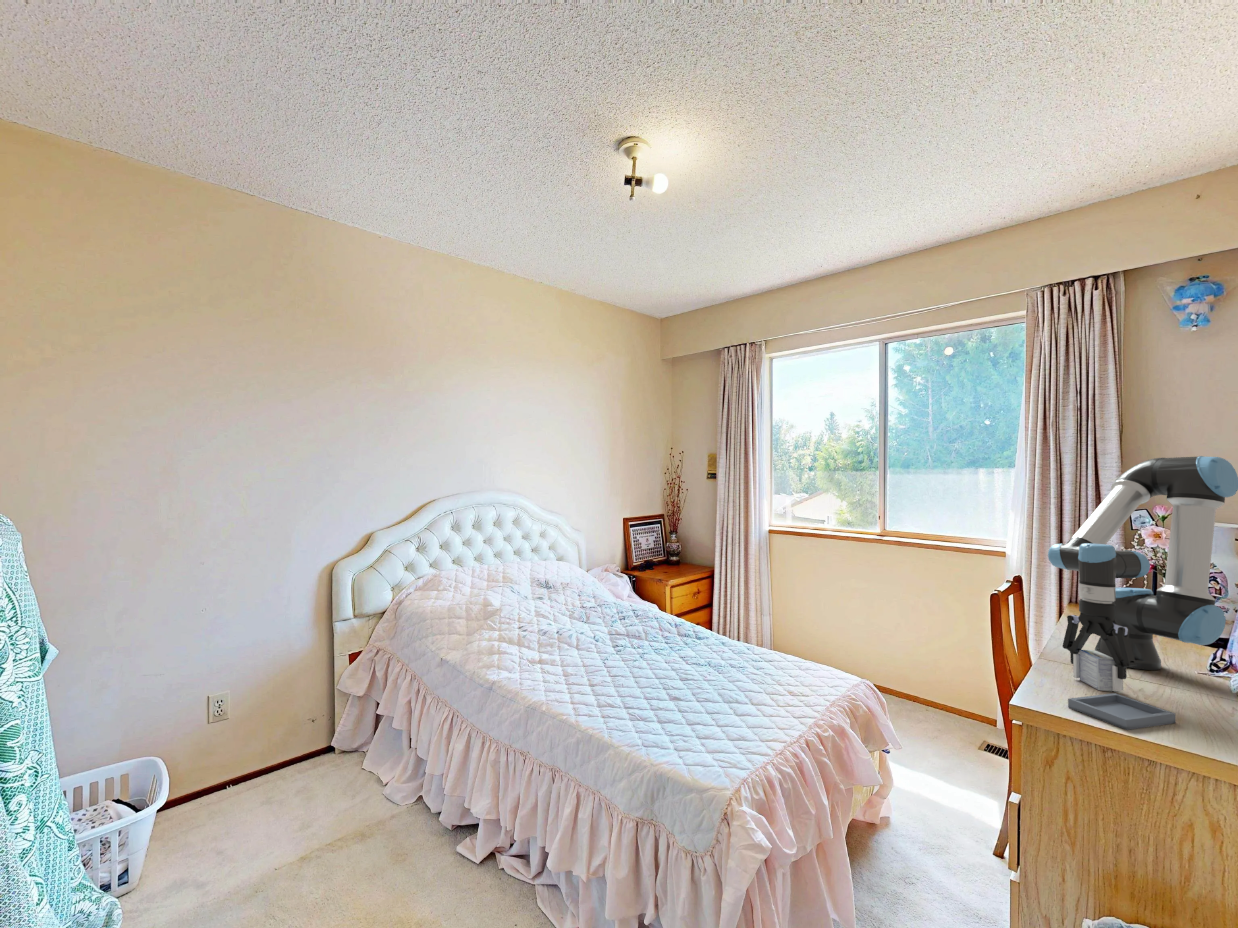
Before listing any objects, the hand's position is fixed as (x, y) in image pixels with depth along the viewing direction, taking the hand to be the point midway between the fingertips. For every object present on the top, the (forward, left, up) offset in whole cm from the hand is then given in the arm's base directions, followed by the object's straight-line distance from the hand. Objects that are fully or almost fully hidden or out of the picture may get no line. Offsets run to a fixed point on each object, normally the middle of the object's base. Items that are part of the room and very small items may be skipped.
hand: (1097, 683), depth 145 cm
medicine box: (0, 0, -1) cm, 1 cm away
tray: (+16, +15, -1) cm, 22 cm away
